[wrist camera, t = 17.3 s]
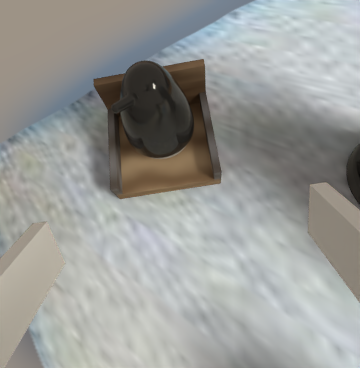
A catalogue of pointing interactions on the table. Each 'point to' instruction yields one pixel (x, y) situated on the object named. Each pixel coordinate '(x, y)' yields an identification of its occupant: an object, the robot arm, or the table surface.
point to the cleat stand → (170, 167)
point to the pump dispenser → (154, 111)
